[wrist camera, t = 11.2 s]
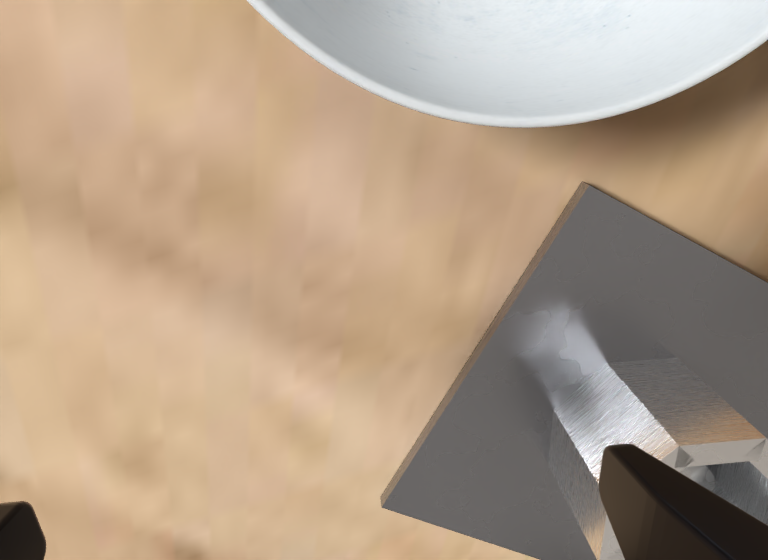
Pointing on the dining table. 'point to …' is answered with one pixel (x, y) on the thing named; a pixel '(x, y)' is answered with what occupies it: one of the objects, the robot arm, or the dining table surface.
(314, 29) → the chinaware
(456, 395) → the duct stub
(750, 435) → the collar
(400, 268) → the dining table surface
